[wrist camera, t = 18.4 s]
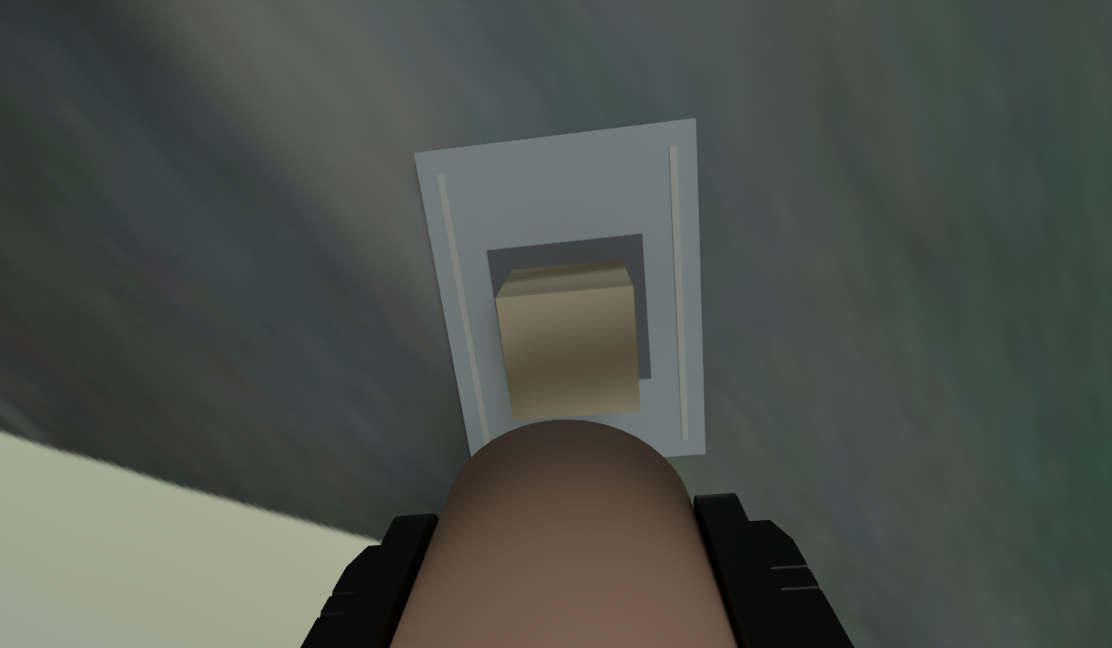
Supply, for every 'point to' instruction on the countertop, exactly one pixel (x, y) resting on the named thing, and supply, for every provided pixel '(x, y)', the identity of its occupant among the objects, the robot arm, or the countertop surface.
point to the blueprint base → (574, 260)
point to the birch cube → (569, 340)
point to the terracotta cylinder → (566, 550)
